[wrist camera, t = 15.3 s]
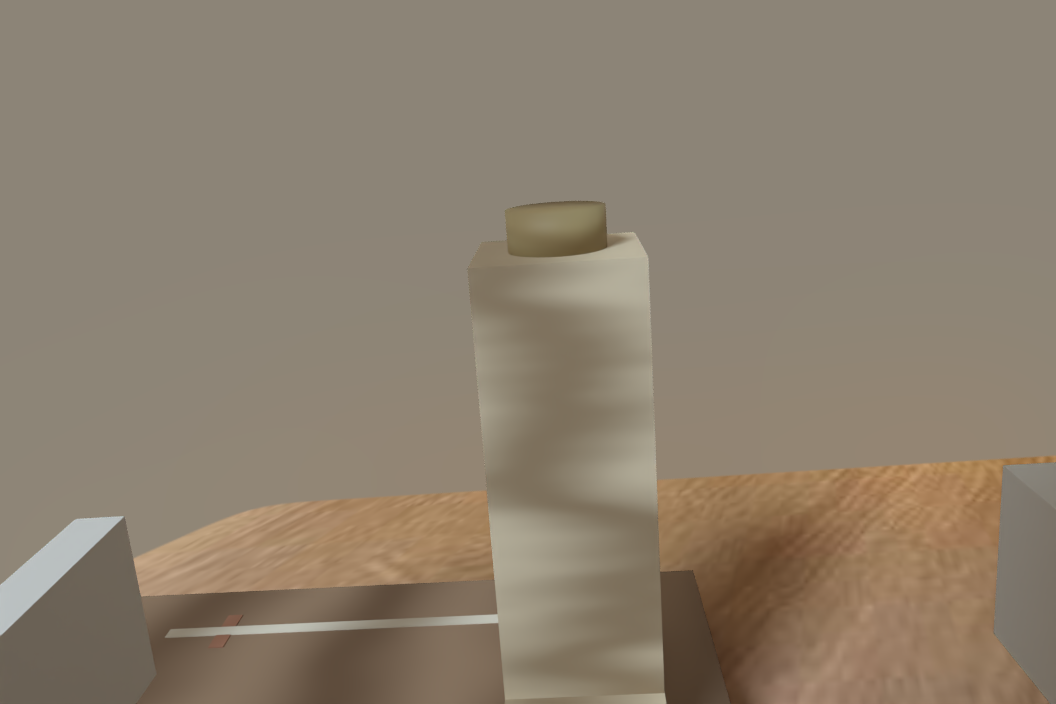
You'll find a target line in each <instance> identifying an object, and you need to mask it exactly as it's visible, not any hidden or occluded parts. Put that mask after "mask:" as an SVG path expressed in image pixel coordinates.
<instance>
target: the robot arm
mask: <svg viewBox="0 0 1056 704" xmlns="http://www.w3.org/2000/svg"><path fill="white" fill-rule="evenodd" d="M994 634H995V636H996V637H997V638H998V639H999V641H1000V642H1001V643H1002V644H1003V646H1004V647H1005V648H1006V649H1007V651H1008V652H1009V653H1010V654H1011V655H1012V657H1013V658H1014V659H1015V660H1016V662H1017V663H1018V664H1019V665H1020V667H1021V668H1022V669H1023V670H1024V672H1025V673H1026V674H1027V675H1028V677H1029V678H1030V679H1031V680H1032V682H1033V683H1034V684H1035V685H1036V686H1037V688H1038V689H1039V690H1040V691H1041V693H1042V694H1043V695H1044V696H1045V698H1046V699H1047V700H1048V701H1049V703H1050V704H1056V462H1055V463H1037V464H1020V465H1003V478H1002V495H1001V513H1000V531H999V548H998V566H997V584H996V601H995V619H994ZM155 676H156V670H155V665H154V660H153V655H152V650H151V645H150V640H149V635H148V630H147V625H146V620H145V615H144V610H143V605H142V600H141V595H140V590H139V585H138V581H137V576H136V571H135V566H134V561H133V556H132V551H131V546H130V541H129V536H128V531H127V526H126V521H125V517H124V516H121V517H102V518H85V519H75V520H74V521H73V522H72V523H71V524H70V525H69V526H67V527H66V528H65V529H64V530H63V531H61V532H60V533H59V534H58V535H57V536H56V537H55V538H54V539H52V540H51V541H50V542H49V543H48V544H47V545H45V546H44V547H43V548H42V549H41V550H40V551H39V552H37V553H36V554H35V555H34V556H33V557H32V558H31V559H29V560H28V561H27V562H26V563H25V564H24V565H23V566H21V567H20V568H19V569H18V570H17V571H16V572H15V573H14V574H12V575H11V576H10V577H9V578H8V579H7V580H5V581H4V582H3V583H2V584H1V585H0V704H136V703H137V702H138V700H139V699H140V697H141V696H142V694H143V693H144V692H145V690H146V689H147V687H148V686H149V684H150V683H151V681H152V680H153V679H154V677H155Z"/></svg>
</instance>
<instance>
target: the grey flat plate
mask: <svg viewBox="0 0 1056 704" xmlns="http://www.w3.org/2000/svg"><path fill="white" fill-rule="evenodd" d="M660 584H661V611H662V638H663V664H664V691H665V698H666V704H731V703H730V700H729V696H728V693H727V689H726V686H725V682H724V679H723V675H722V672H721V668H720V664H719V661H718V657H717V654H716V650H715V647H714V643H713V640H712V636H711V633H710V629H709V626H708V622H707V619H706V615H705V612H704V608H703V605H702V601H701V598H700V594H699V590H698V587H697V583H696V580H695V576H694V573H693V570H692V571H671V572H660ZM141 600H142V605H143V610H144V615H145V620H146V625H147V630H148V635H149V640H150V645H151V650H152V655H153V660H154V665H155V670H156V676H155V677H154V679H153V680H152V681H151V683H150V684H149V686H148V687H147V689H146V690H145V692H144V693H143V694H142V696H141V697H140V699H139V700H138V702H137V703H136V704H505V694H504V682H503V671H502V659H501V648H500V636H499V625H498V613H497V602H496V590H495V580H481V581H460V582H439V583H418V584H397V585H375V586H354V587H333V588H312V589H291V590H270V591H249V592H228V593H207V594H185V595H164V596H143V597H141Z"/></svg>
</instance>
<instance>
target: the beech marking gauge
mask: <svg viewBox="0 0 1056 704" xmlns="http://www.w3.org/2000/svg"><path fill="white" fill-rule="evenodd" d="M505 217H506V231H507V241H491V242H482V243H481V244H480V246H479V248H478V250H477V252H476V254H475V256H474V257H473V259H472V261H471V263H470V265H469V267H468V280H469V291H470V303H471V314H472V325H473V337H474V348H475V359H476V372H477V382H478V394H479V406H480V418H481V428H482V440H483V451H484V462H485V463H484V464H485V475H486V487H487V498H488V510H489V521H490V533H491V544H492V556H493V567H494V579H495V590H496V602H497V613H498V625H499V636H500V648H501V659H502V671H503V682H504V694H505V704H666V698H665V691H664V664H663V638H662V611H661V584H660V558H659V531H658V504H657V478H656V451H655V425H654V398H653V371H652V347H651V346H652V345H651V318H650V291H649V266H648V256H647V254H646V252H645V250H644V249H643V247H642V245H641V243H640V241H639V240H638V238H637V236H636V234H635V233H634V232H631V233H630V232H629V233H614V234H607V228H606V209H605V203H602V202H594V201H564V202H549V203H538V204H530V205H523V206H517V207H513V208H509V209H507V210H505Z"/></svg>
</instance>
